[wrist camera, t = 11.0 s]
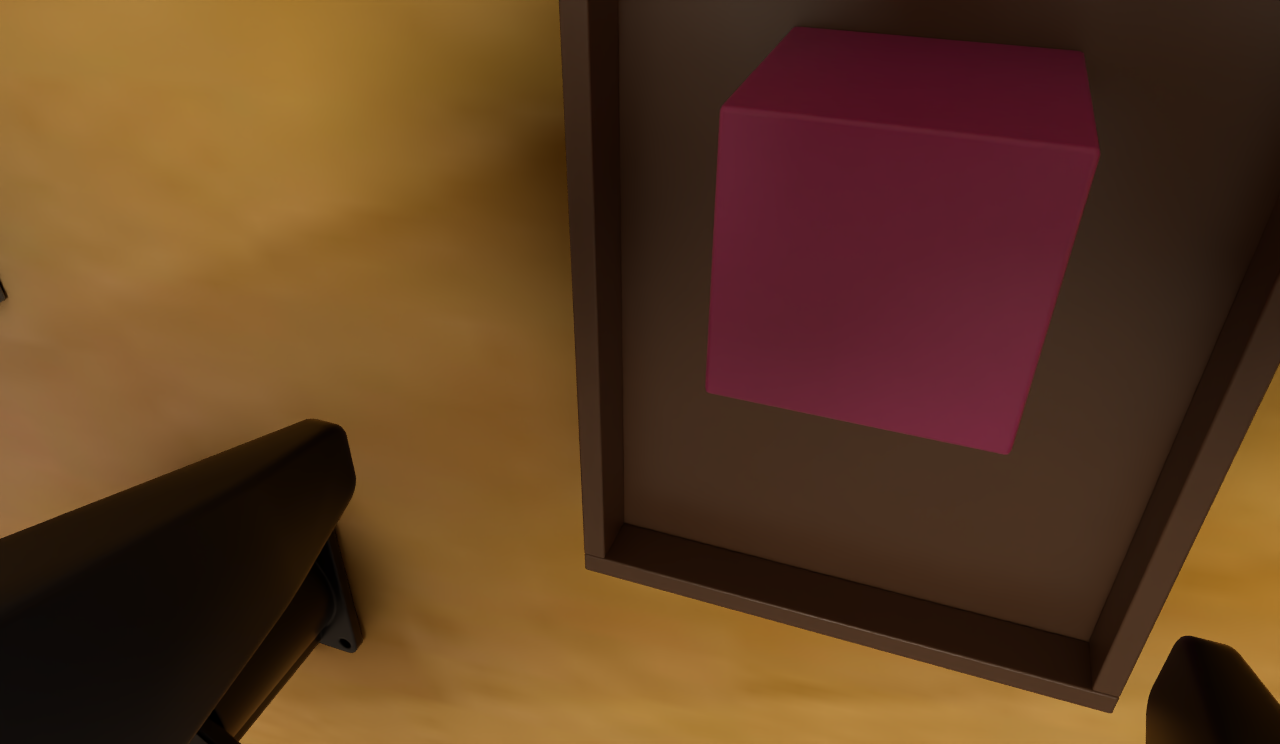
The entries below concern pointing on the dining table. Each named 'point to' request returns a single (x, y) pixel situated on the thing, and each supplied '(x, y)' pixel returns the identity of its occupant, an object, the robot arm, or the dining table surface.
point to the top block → (896, 229)
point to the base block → (2, 295)
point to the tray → (909, 465)
